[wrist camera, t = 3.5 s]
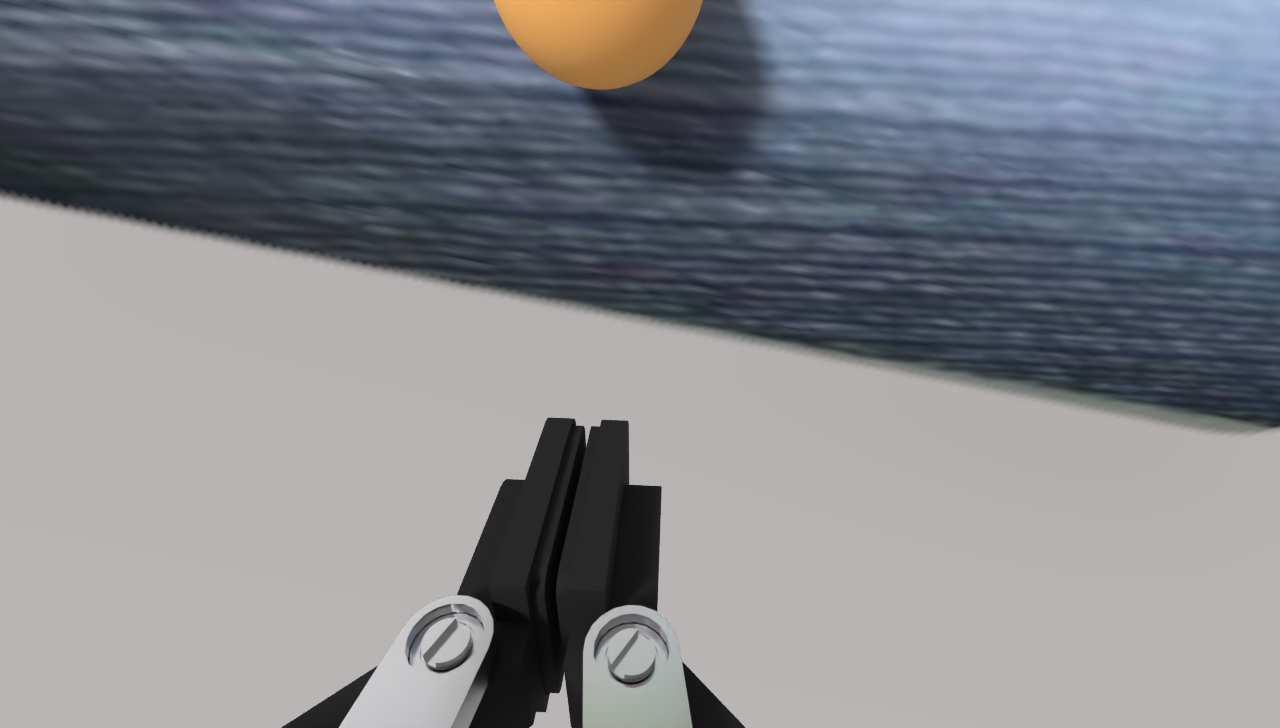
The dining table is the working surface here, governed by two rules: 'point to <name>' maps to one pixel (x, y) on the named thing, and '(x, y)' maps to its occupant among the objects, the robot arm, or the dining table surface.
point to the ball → (599, 37)
